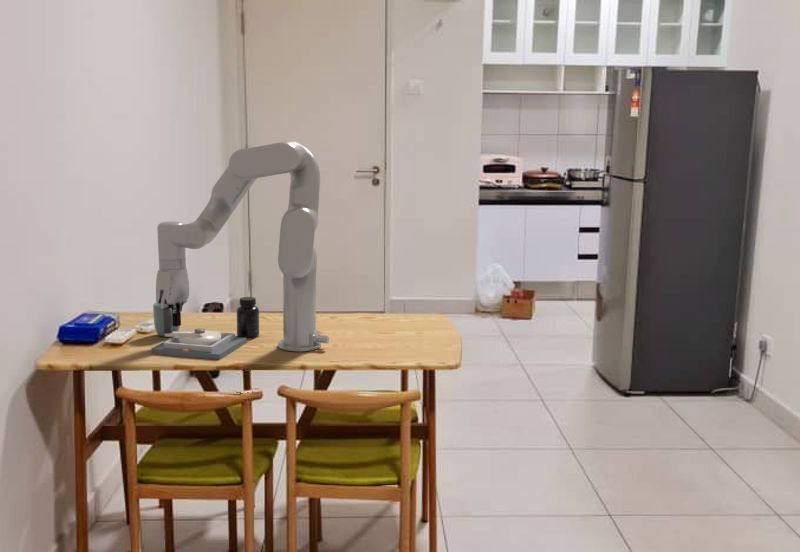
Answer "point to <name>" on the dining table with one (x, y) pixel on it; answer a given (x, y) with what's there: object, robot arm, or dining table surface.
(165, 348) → the board
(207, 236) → the robot arm
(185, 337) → the dial
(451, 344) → the dining table surface
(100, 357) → the dining table surface
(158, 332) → the cup
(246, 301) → the supplement bottle
